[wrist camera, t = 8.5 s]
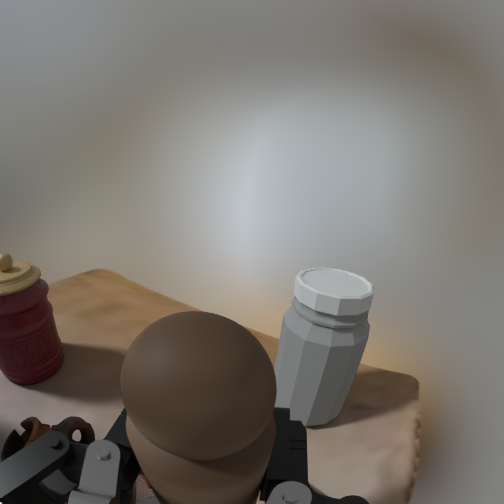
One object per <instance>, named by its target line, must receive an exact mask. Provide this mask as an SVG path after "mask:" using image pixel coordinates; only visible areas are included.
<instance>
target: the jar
mask: <svg viewBox="0 0 504 504" xmlns="http://www.w3.org/2000/svg"><path fill="white" fill-rule="evenodd" d="M294 294H295V298H294V299H293V300H292V307H290V308H289V310H288V311H287V312H286V313H285V314H284V316H283V321H282V327H281V333H280V340H279V346H278V352H277V358H276V364H275V370H274V372H275V376H276V386H277V394H276V402H275V407H282V408H290V420H297V421H301V422H302V423H303V425H304V426H314V425H322V424H326V423H328V422H329V421H331V420H332V419H334V418H335V417H337V416H338V415H339V414H340V412H341V409H342V407H343V405H344V402H345V400H346V397H347V395H348V393H349V390H350V388H351V385H352V382H353V380H354V377H355V375H356V372H357V369H358V366H359V364H360V361H361V358H362V355H363V352H364V349H365V346H366V343H367V340H368V336H369V329H370V325H369V323H368V321H367V319H368V312H369V309H370V306H371V303H372V299H373V295H374V286H373V285H372V284H371V283H370V282H369V281H367V280H366V279H365V278H364V277H361V276H359V275H356V274H354V273H352V272H348V271H343V270H338V269H334V268H311V269H306V270H302V271H301V272H300V273H299V274H298V275H297V276H296V277H295V285H294Z"/></svg>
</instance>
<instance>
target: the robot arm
mask: <svg viewBox="0 0 504 504" xmlns="http://www.w3.org/2000/svg"><path fill="white" fill-rule="evenodd" d="M272 414H273V417H274V420H275V425H276V435H275V441H274V444H273V448H272V452H271V455H270V459H269V463H268V466H267V469H266V473H265V476H264V479H263V483H262V486H261V489H260V497H259V501H265V504H369V503H368V502H367V501H366V500H365V499H364V498H362V497H359V496H354V495H351V496H346V497H343V498H341V499H336V498H331V497H327V496H323V495H320V494H318V493H316V492H315V491H314V490H313V489H312V488H311V487H310V485H309V483H308V464H307V433H306V429H305V427H304V425H303V423H302V422H301V421H297V420H290V408H282V407H274V410H273V413H272ZM126 419H127V411H126V409H125V408H124V409H123V411H122V412H121V415H119V417H118V418H117V420H116V422H115V423H114V425H113V426H112V428H111V429H110V431H109V432H108V434H107V435H106V437H105V438H104V439H103V440H97V441H94V442H92V443H91V444H89V445H88V444H81V443H76V442H71V441H69V439H68V438H67V436H66V435H65V434H63V433H62V432H59V431H50V432H47V433H45V434H44V435H42V436H41V437H39V438H38V439H36V440H35V441H33V442H32V443H30V444H29V445H27V446H26V447H24V448H23V449H21V450H20V451H18V452H17V453H15V454H14V455H12V456H10V457H9V458H7V459H6V460H4V461H3V462H1V463H0V504H64V503H65V502H66V501H68V500H69V501H68V504H135V503H136V478H137V476H138V474H141V475H144V473H143V471H142V468H141V466H140V464H139V462H138V460H137V458H136V455H135V453H134V451H133V449H132V446H131V444H130V441H129V439H128V436H127V431H126ZM144 476H145V475H144Z"/></svg>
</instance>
